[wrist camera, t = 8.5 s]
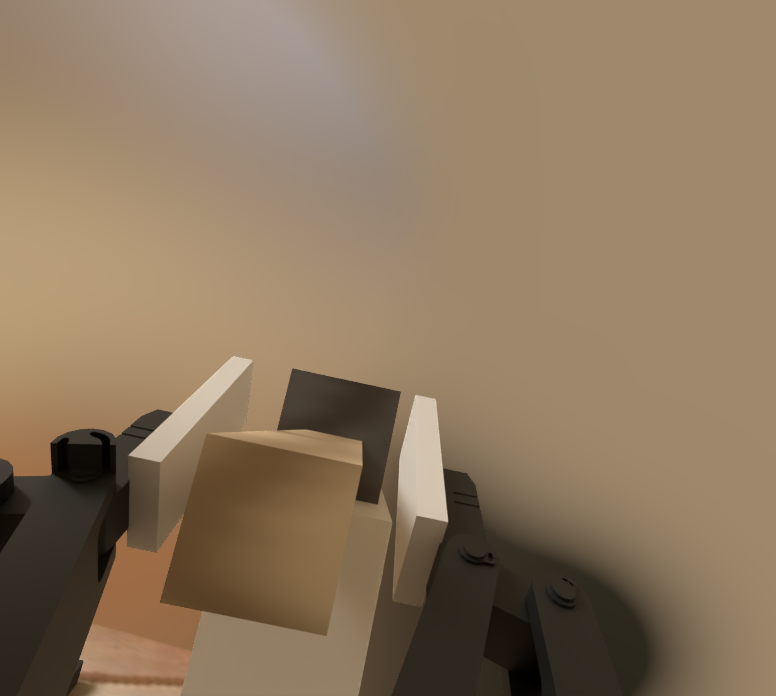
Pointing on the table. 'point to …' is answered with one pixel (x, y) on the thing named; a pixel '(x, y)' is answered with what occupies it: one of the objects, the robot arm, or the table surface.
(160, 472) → the robot arm
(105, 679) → the table surface
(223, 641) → the stand
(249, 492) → the mallet
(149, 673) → the table surface
